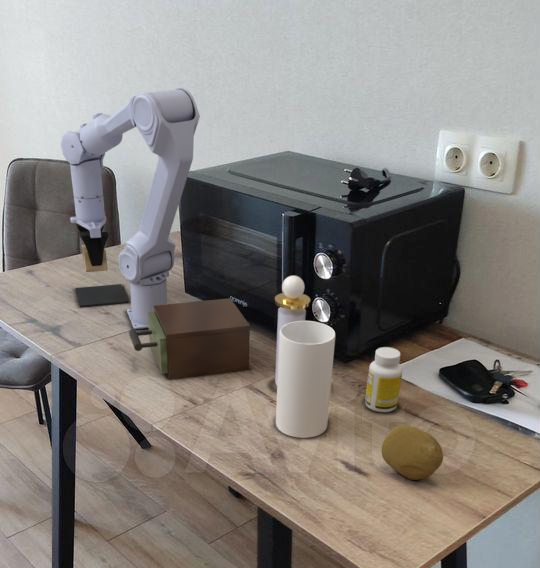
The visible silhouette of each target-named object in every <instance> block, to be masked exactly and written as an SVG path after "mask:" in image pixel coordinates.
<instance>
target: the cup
mask: <svg viewBox="0 0 540 568" xmlns="http://www.w3.org/2000/svg"><path fill="white" fill-rule="evenodd" d="M335 345H336V332H335V330H334V329H333V327H331V326H329V325H327V324H325V323H322V322H318V321H314V320H305V321H295V322H291V323H288V324H286V325H284V326H283V327H282V328H281V329H280V338H279V359H278V382H277V385H276V408H275V410H276V411H275V426H276V428H277V429H278V431H280V432H281V433H282V434H284V435H287V436H290V437H293V438H301V439H307V438H314V437H317V436H320V435H321V434H323V433H324V432H326V430H327V428H328V419H329V410H330V409H329V408H330V398H331V386H332V377H333V366H334V355H335Z"/></svg>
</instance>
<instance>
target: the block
mask: <svg viewBox="0 0 540 568" xmlns="http://www.w3.org/2000/svg"><path fill="white" fill-rule="evenodd" d="M81 251H82V261H83V267H84V270H85V273H93V272H94V273H95V272H96V273H97V272H107V271H108V270H109V269H108V258H107V249H106V246H105V247H104V254H103V263H102V266H92V265H91V262H90V259H89V256H88V252H87V248H86V246H85V244H81Z"/></svg>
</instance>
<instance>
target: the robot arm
mask: <svg viewBox="0 0 540 568" xmlns="http://www.w3.org/2000/svg"><path fill="white" fill-rule="evenodd" d="M200 118H201V115H200V112H199V110H198V106H197V103H196V100H195V98H194V96H193V95H192V93H191V92H190V91H189V90H188V89H186V88H184V87H179V88H178V87H177V88H175V89H170V90H161V91H152V92H145V91H142V92H139V93H137V94H136V95H134V96H131V97H130V98H129V99H128V102H127V103H125V104H124V105H123V106H122V107H120V108H119V109H118V110H117V111H116V112H114V113H113V114H112V115H110V114H108V113H103V112H98V113H94V114H93V115H92V120H91V121H88V123H82V124H80V127H79V129H78V130H76V131H71V130H67V131H65V133H63V135H62V137H61V141H60V148H61V152H62V155H63V156H64V158H65V160H66V161H67V162H68V163H69V168H70V177H71V186H72V193H73V202H74V203H73V204H74V210H75V216H71V217H70V218H69V221H70V223H71V224H75V226H76V228H77V229H78V235H79V237H80V239H81V240H82V242H83V245H85V246H86V248H87V252H88V256H89V259H90V262H91V265H92V266H102V263H103V254H104V247H105V248H106V244H107V241H108V239H109V235H110V234H109V232H108V231H104V228H105V224H106V223H107V216H106V211H105V199H104V191H103V190H104V189H103V179H102V170H103V168H104V164H103V163H104V158H105V155H106V153H107V152H109V151H110V150H112V149H114V148H115V147H117V146H118V145H120V144H121V142H122V141H123V135H124V134H125V133H127V132H129V131H131V130H133V129H135V128H137V130H138V131H139V133H140V134H141V135H140V136H142V138H143V140H144V142H145V143H146V145H147V147H148V148H149V150H150V151H151V153H153V154H154V155H157V156H158V159H157V163H156V167H155V170H154V175H153V177H152V181H151V185H150V189H149V192H148V196H147V199H146V204H145V207H144V210H143V214H142V218H141V222H140V225H139V228H138V230H137V232H135V233H134V234H133V235H132V236H131V237H130V238H129V239H128V240H127V241H126V243H125V246H124V248H123V250H121V251H120V252H119V254H118V261H117V262H118V268H119V270H120V273H121V275H122V277H123V278H124V279H125V280H126V281H127V282H129V295H130V306H131V307H130V308H127V309H126V313H127V315H128V318H129V321H130V324H131V326H132V329H133V330H141V329H149V325H148V312H154V309H153V306H155V305H166V304H169V303H168V286H167V285H168V283H167V282H168V281H167V278H168V277H170V271H171V270H172V269H173V268H174V265H175V250H176V246H177V245H176V243H175V242H174V240H173V238H171V236H170V234H171V230H172V227H173V224H174V222H175V221H174V220H175V217H176V214H177V212H178V208H179V205H180V202H181V198H182V196H183V192H184V189H185V187H186V186H185V185H186V183H187V179H188V176H189V173H190V170H191V167H192V163H193V160H194V140H195V133H196V131H197V128H198V124H199V121H200Z"/></svg>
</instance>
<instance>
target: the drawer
mask: <svg viewBox="0 0 540 568" xmlns="http://www.w3.org/2000/svg"><path fill="white" fill-rule="evenodd" d="M148 325H149V328H148V330H138V331H137V329H130V330H129V331H128V335H129V338H130V341H131V343H132V346H133V348H134V351H136V352H140V351H141V350H142V349H146V348H150V349H151V352H152V354H153V356H154V359H155V361H156V364H157V367H158V369H159V371H160V373H161V374H162V375H165V374H167V373H168V357H167V338H166V335H165V333H164V331H163V330H162V327H161V325H160V323H159V321H158V319H157V317H156V315H155V313H154V312H148ZM140 336H148V338H149V342H144V343H142V342H141V339H140Z"/></svg>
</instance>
